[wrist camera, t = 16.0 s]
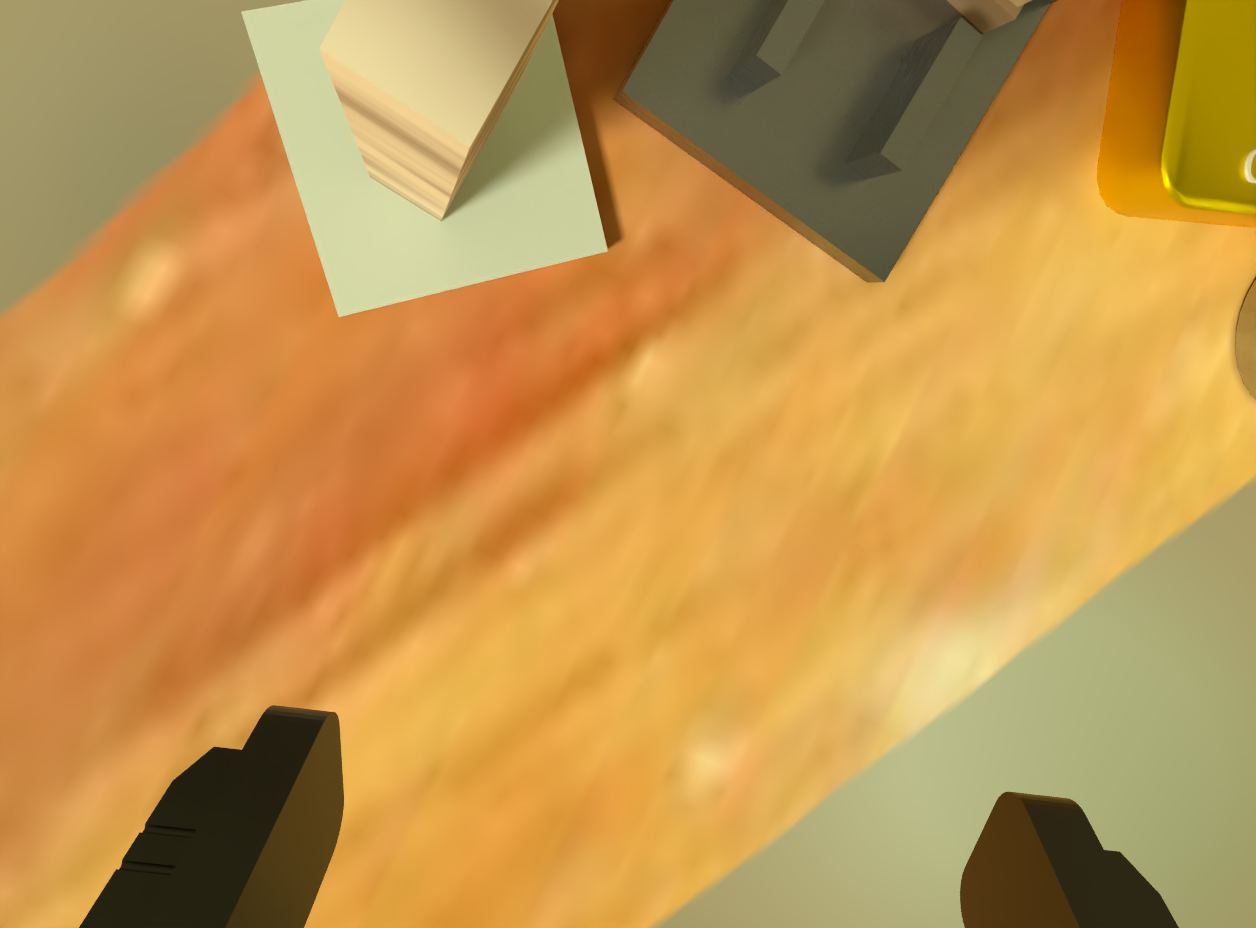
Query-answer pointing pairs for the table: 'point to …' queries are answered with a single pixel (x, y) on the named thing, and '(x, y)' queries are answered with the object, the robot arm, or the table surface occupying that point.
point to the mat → (397, 229)
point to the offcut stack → (989, 12)
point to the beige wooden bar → (428, 84)
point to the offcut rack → (827, 107)
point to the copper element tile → (1182, 113)
